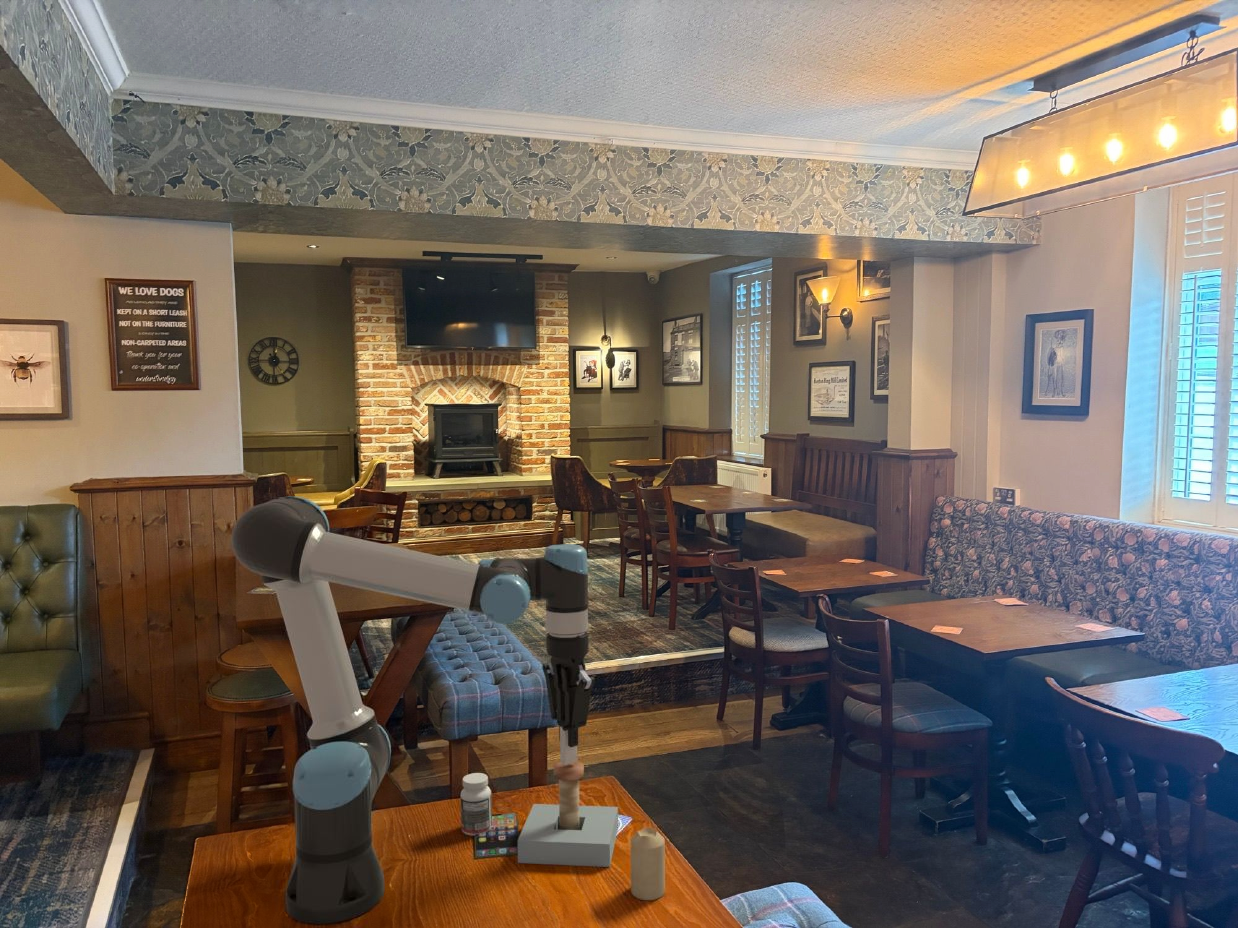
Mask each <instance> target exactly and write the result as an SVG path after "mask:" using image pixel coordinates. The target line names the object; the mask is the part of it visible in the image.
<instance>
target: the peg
mask: <svg viewBox="0 0 1238 928" xmlns="http://www.w3.org/2000/svg"><path fill="white" fill-rule="evenodd" d="M584 775H585V764H584V763H583V762H581V761H579V760H578V761H577V762H574V763H571V764H568V765H564V764H562V763H560V761H558V762H555V764H554V765H553V777H554V778H555V779H557V780H558V805H559V826H560V829H561V830H580V824H579V806H580V779H581V778H583V777H584Z"/></svg>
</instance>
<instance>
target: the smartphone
mask: <svg viewBox="0 0 1238 928" xmlns="http://www.w3.org/2000/svg"><path fill="white" fill-rule="evenodd" d="M519 829H520V828H519V821H518V813H517V812H509V813H494V814H493V813H492V828H491V829H490V830H489V831H487V832H485V833H481V834H476V835H475V836H474V859H475V860H479V859H489V858H491V859H492V858H500V857H511V856H518V838H519V836H520V832H519V831H520V830H519Z"/></svg>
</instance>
